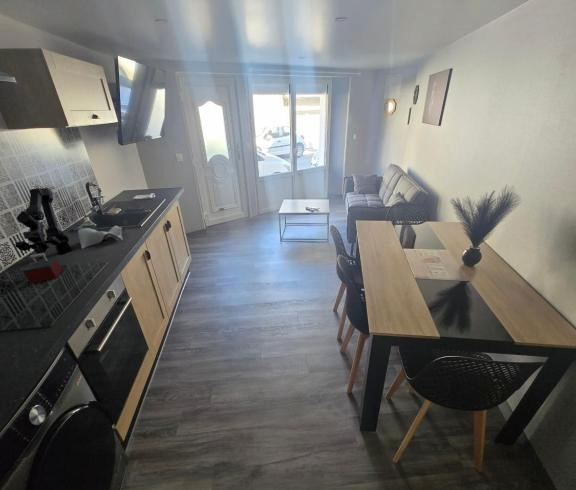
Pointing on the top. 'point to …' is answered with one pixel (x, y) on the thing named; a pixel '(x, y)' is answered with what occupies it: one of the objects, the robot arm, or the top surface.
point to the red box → (44, 273)
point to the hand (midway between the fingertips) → (40, 257)
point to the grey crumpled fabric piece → (97, 235)
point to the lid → (39, 263)
